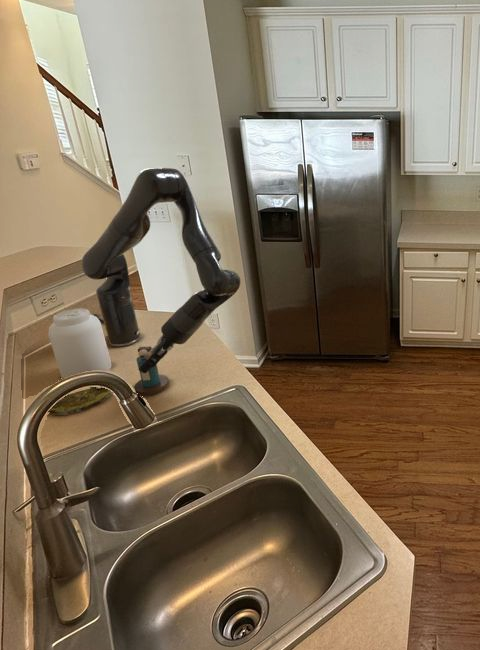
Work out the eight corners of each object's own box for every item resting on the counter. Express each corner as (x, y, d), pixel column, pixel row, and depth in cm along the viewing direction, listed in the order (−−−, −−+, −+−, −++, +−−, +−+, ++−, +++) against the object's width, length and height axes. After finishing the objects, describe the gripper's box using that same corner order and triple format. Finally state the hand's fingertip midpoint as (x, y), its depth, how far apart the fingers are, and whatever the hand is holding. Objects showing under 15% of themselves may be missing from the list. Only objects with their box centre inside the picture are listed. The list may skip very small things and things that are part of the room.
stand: (131, 387, 124) (130, 382, 124) (162, 375, 130) (162, 371, 130) (141, 400, 119) (140, 395, 118) (173, 387, 125) (172, 383, 124)
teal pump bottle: (146, 378, 126) (138, 345, 122) (162, 378, 126) (155, 344, 122) (139, 387, 122) (131, 353, 118) (156, 387, 122) (148, 352, 118)
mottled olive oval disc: (49, 425, 110) (117, 401, 119) (44, 412, 108) (113, 388, 117) (45, 405, 116) (110, 383, 125) (40, 391, 114) (106, 371, 123)
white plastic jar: (106, 357, 139) (91, 300, 132) (117, 372, 131) (101, 313, 124) (59, 371, 131) (40, 312, 124) (66, 389, 123) (46, 327, 116)
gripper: (179, 305, 125) (143, 343, 127) (163, 327, 112) (124, 369, 114) (201, 320, 128) (166, 357, 130) (189, 343, 115) (150, 384, 117)
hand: (147, 362), depth 122 cm, fingers open, 8 cm apart
